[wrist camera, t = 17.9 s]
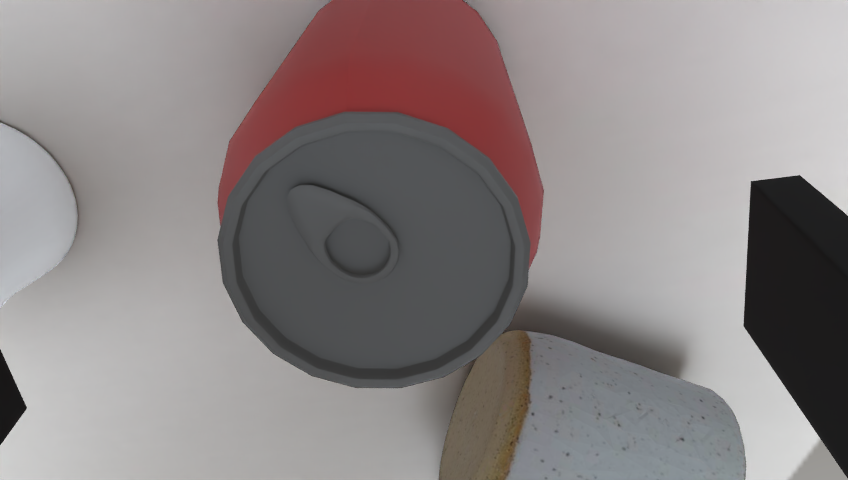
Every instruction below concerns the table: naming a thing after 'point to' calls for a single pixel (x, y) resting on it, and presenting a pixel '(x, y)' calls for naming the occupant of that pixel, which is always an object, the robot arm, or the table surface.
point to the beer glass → (31, 212)
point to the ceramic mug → (584, 419)
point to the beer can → (382, 196)
